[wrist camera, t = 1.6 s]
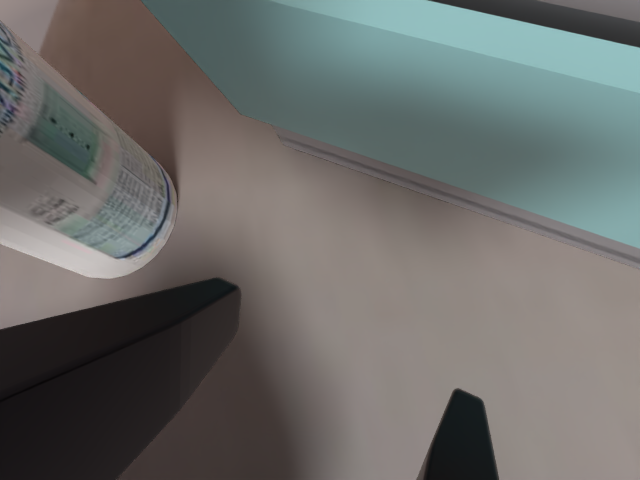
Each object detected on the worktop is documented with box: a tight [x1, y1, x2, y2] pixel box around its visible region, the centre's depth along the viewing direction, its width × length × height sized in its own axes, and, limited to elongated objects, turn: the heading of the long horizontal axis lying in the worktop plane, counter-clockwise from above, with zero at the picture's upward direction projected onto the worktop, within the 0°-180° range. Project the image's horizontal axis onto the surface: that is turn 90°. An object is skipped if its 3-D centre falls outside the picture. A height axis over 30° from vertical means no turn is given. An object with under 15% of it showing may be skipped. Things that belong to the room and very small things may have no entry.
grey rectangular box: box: [272, 0, 640, 269], centre depth 20 cm, size 8×18×4 cm, turn 65°
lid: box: [141, 0, 640, 249], centre depth 14 cm, size 8×18×1 cm
